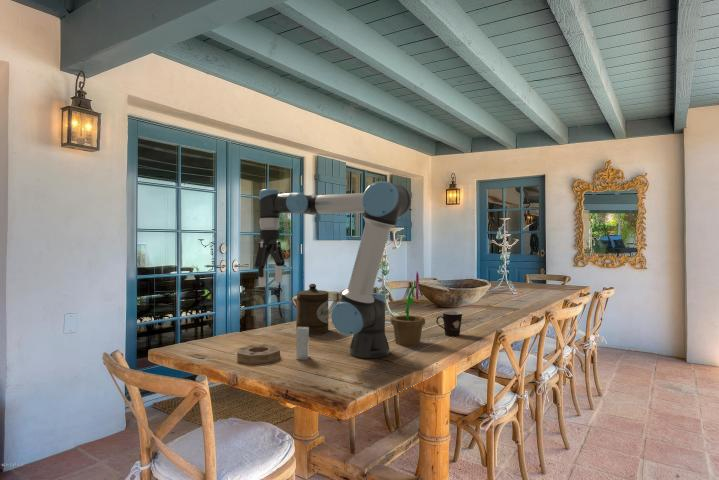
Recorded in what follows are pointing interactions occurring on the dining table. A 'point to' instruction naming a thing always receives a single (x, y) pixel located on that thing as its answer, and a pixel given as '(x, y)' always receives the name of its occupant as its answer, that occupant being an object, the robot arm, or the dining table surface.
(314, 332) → the wooden container
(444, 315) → the coffee mug
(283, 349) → the dining table surface
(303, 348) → the light grey rectangular block
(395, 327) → the flowerpot
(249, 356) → the brown wooden ring
